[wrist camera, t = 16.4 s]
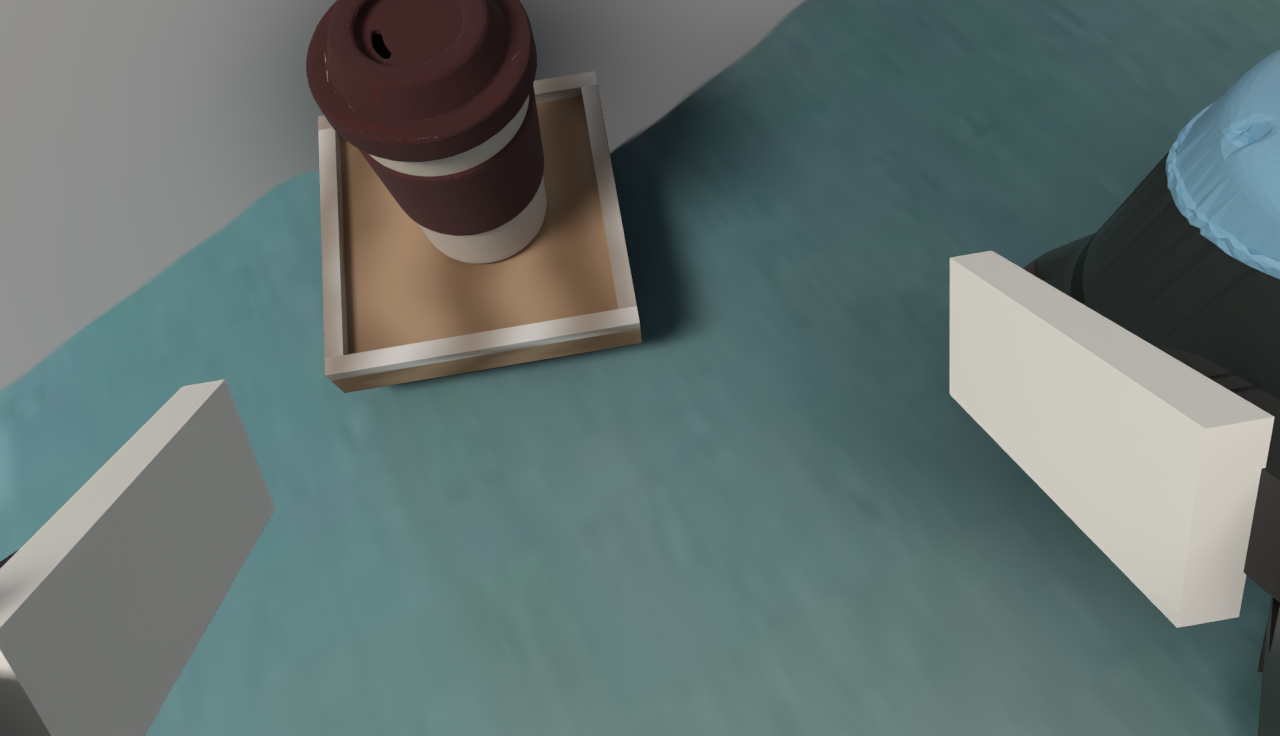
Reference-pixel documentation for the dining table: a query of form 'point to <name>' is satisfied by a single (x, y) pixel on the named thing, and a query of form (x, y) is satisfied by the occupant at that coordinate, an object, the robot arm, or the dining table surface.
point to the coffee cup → (440, 114)
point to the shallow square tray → (475, 293)
